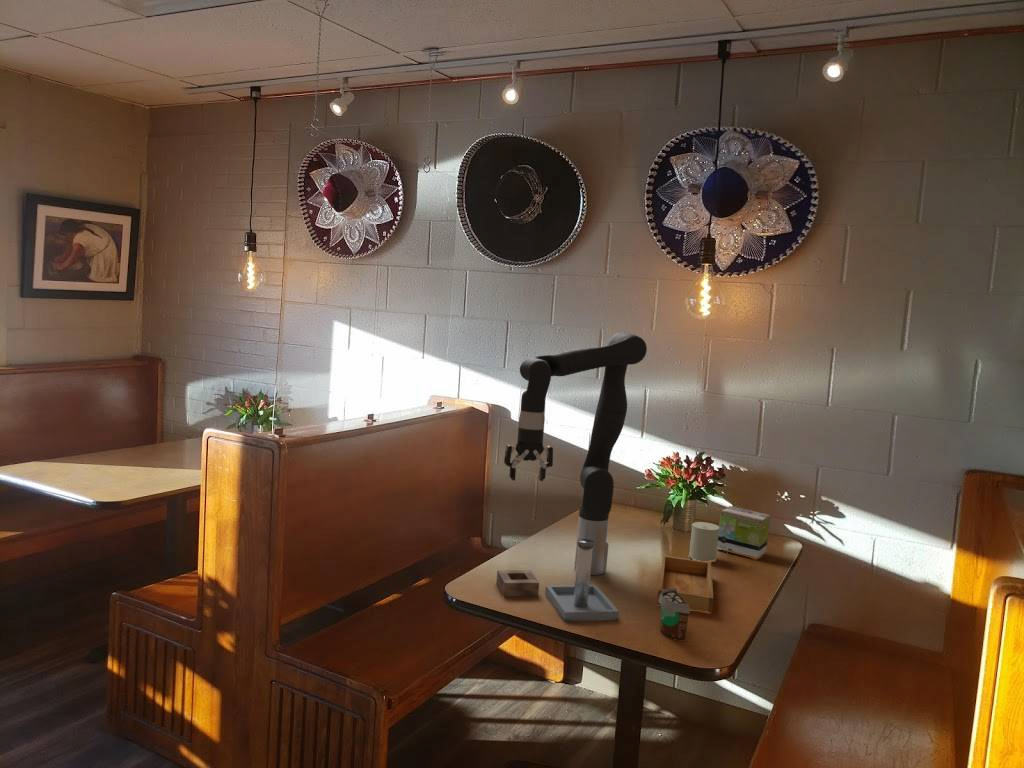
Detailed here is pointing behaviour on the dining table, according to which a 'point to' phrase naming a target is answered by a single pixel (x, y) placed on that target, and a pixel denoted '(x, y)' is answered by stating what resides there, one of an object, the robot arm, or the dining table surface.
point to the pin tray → (595, 610)
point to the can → (704, 541)
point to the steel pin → (583, 572)
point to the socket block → (517, 583)
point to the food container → (673, 614)
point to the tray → (688, 581)
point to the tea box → (743, 531)
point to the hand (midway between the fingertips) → (527, 480)
